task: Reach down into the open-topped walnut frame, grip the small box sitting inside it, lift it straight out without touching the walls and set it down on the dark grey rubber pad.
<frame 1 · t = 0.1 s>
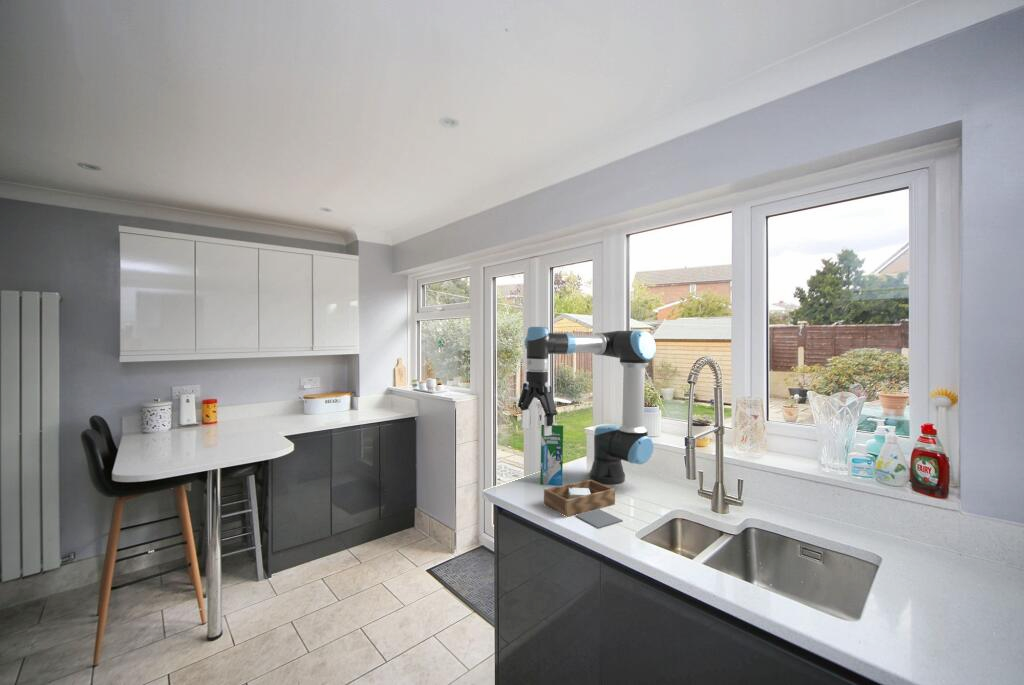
hand: (535, 431, 149), 28 cm above the worktop, tool pointing down, fingers open, 13 cm apart
small box: (579, 505, 156), resting in walnut frame
rubber pad: (598, 518, 144), on the worktop
walnut frame: (579, 504, 157), on the worktop
milk carton: (551, 482, 182), on the worktop
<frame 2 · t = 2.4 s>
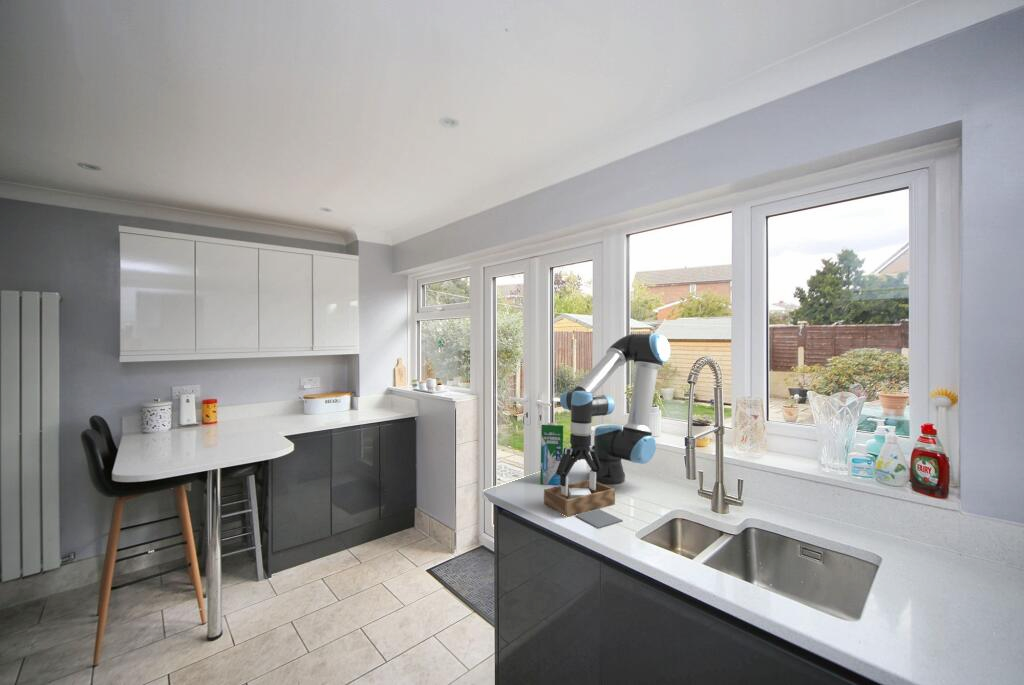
hand: (578, 491, 156), 5 cm above the worktop, tool pointing down, fingers open, 13 cm apart
nothing on the worktop moved.
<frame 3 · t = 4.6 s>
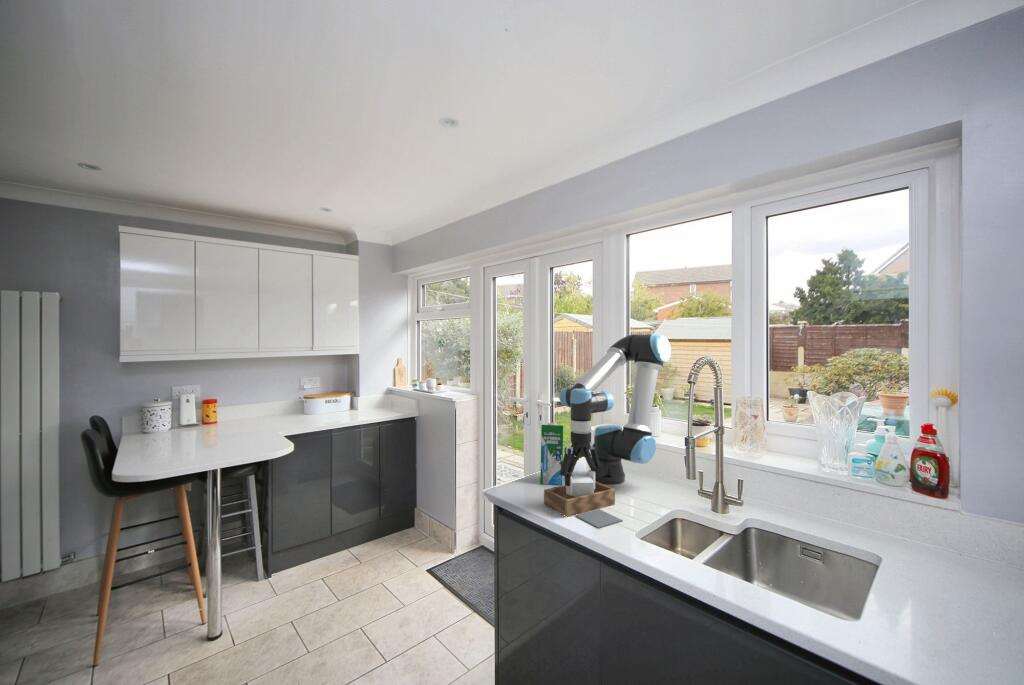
hand: (580, 491, 157), 5 cm above the worktop, tool pointing down, fingers closed on small box, 10 cm apart
small box: (581, 493, 157), point 4 cm above the worktop, touching gripper
everything else where it was.
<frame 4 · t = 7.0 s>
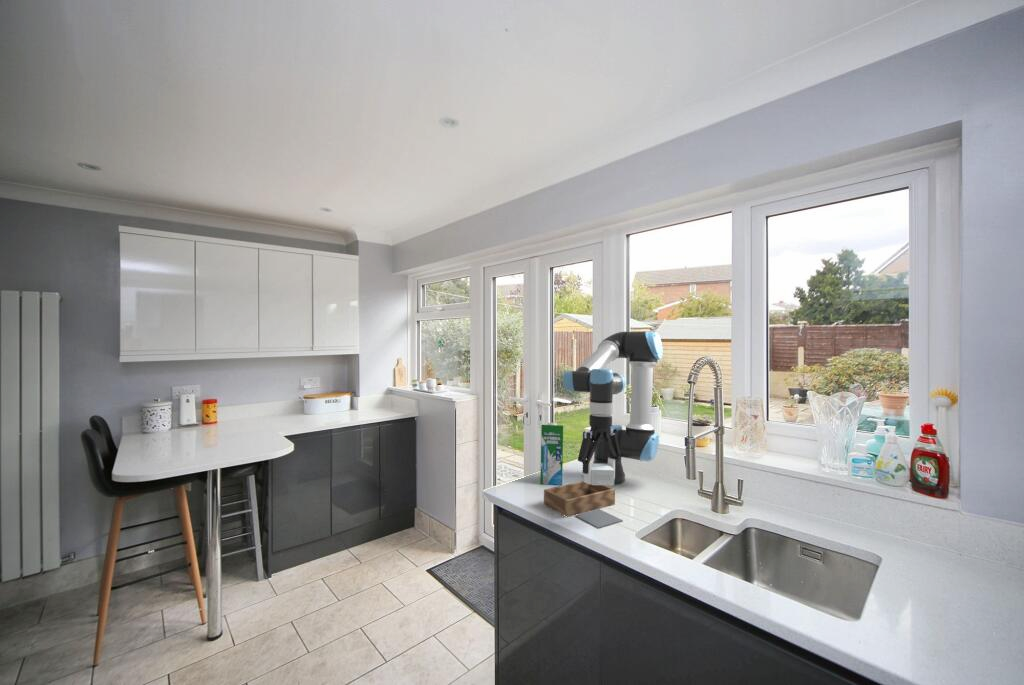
hand: (599, 480, 144), 13 cm above the worktop, tool pointing down, fingers closed on small box, 10 cm apart
small box: (600, 482, 144), point 12 cm above the worktop, touching gripper
everything else where it was.
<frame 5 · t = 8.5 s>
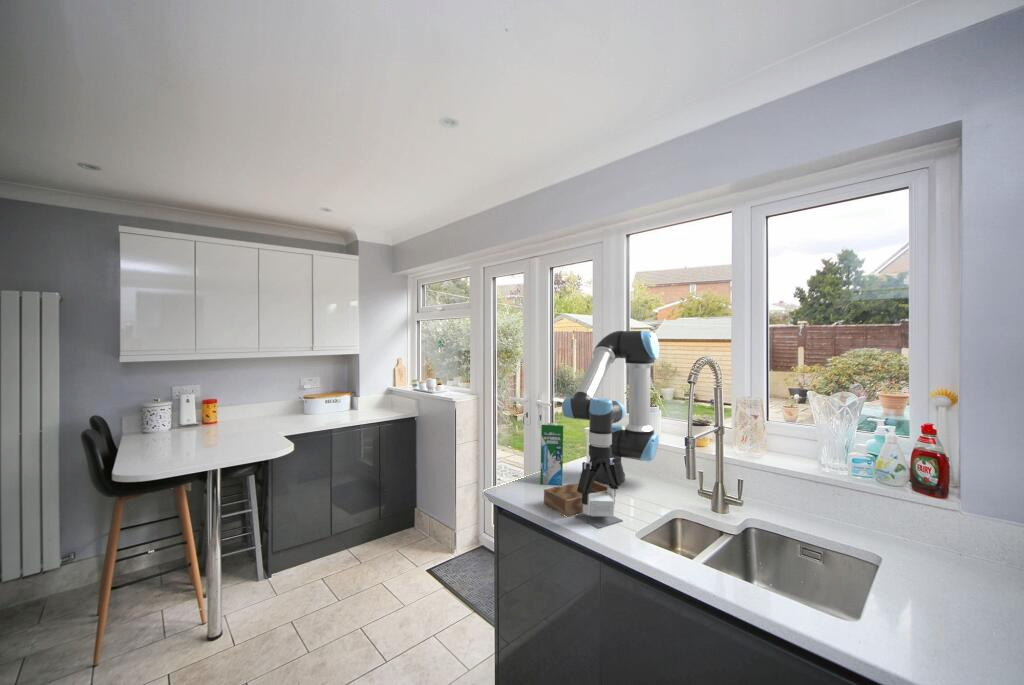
hand: (598, 510, 144), 3 cm above the worktop, tool pointing down, fingers closed on small box, 10 cm apart
small box: (599, 512, 144), point 2 cm above the worktop, touching gripper
everything else where it was.
when the fingers open (1 cm above the worktop, at t = 9.6 s): small box stays where it is, resting on rubber pad.
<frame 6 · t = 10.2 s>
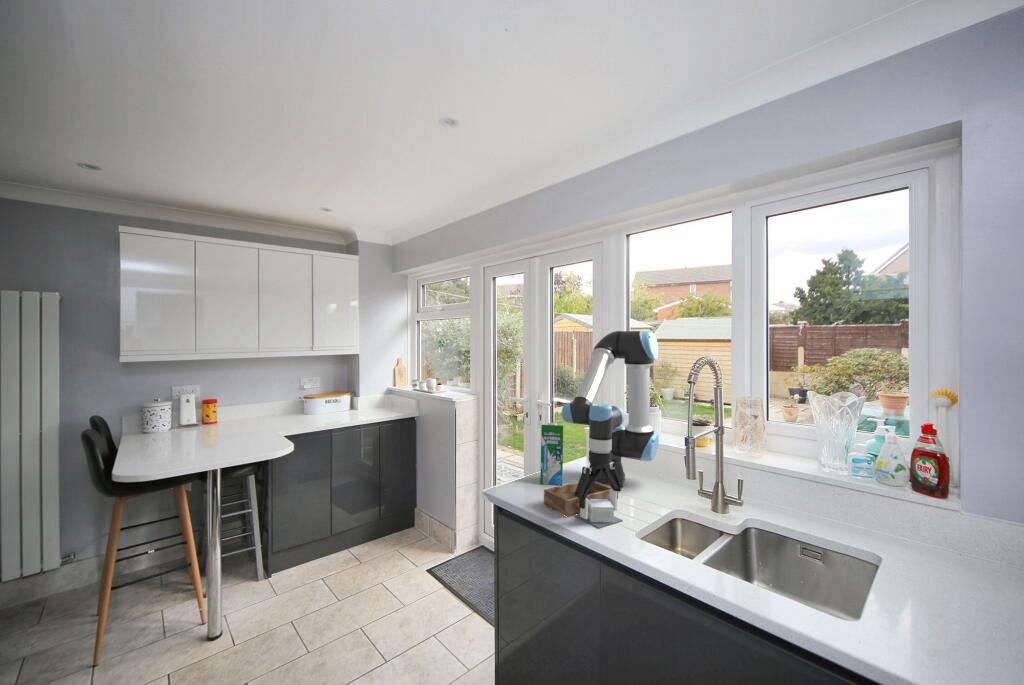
hand: (598, 513, 144), 2 cm above the worktop, tool pointing down, fingers open, 13 cm apart
small box: (599, 518, 144), resting on rubber pad
everything else where it was.
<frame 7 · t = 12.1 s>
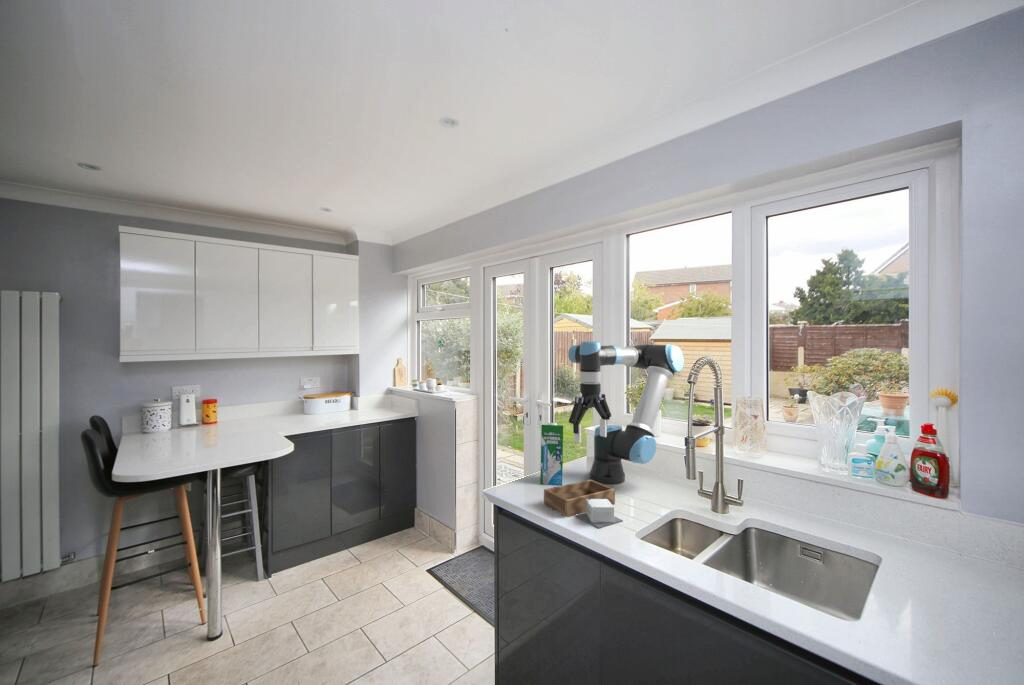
hand: (590, 439, 160), 23 cm above the worktop, tool pointing down, fingers open, 13 cm apart
nothing on the worktop moved.
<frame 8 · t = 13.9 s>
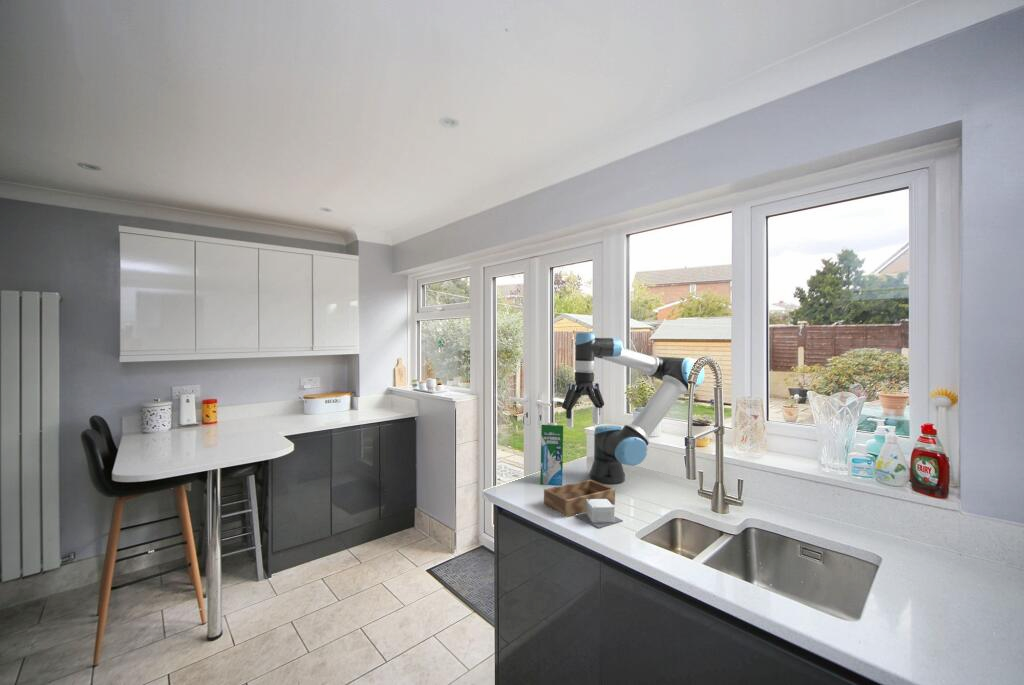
hand: (583, 425, 169), 27 cm above the worktop, tool pointing down, fingers open, 13 cm apart
nothing on the worktop moved.
at the end: small box inside the target area on the rubber pad (0.4 cm from its centre), point 0.2 cm above the rubber pad's base; small box touching rubber pad; the gripper is holding nothing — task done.
